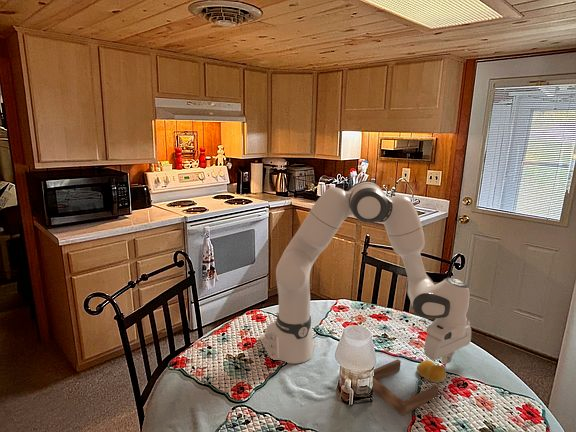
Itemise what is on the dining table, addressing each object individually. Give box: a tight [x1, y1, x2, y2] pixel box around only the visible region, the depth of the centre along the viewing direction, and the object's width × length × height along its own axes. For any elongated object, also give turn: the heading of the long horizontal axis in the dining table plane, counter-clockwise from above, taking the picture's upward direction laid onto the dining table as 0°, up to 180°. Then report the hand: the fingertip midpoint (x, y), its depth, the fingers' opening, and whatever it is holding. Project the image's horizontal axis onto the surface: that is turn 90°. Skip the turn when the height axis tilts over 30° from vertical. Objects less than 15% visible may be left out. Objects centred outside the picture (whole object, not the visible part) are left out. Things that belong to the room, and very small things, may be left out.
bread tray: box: [373, 358, 439, 416], centre depth 122 cm, size 16×15×4 cm
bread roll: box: [416, 359, 447, 383], centre depth 130 cm, size 8×9×4 cm
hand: (446, 362), depth 134 cm, fingers closed
